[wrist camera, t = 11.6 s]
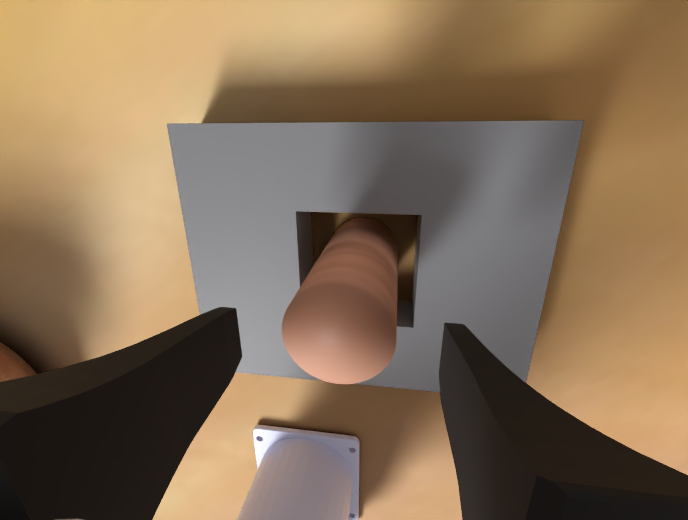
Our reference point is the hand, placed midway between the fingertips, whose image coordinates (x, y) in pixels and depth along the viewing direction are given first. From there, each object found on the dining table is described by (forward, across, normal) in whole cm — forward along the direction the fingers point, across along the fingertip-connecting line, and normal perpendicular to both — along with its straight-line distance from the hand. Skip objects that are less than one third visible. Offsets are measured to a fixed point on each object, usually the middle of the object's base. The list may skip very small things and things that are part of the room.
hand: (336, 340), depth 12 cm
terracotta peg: (+9, 0, 0) cm, 9 cm away
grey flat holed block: (+9, 0, 0) cm, 9 cm away
